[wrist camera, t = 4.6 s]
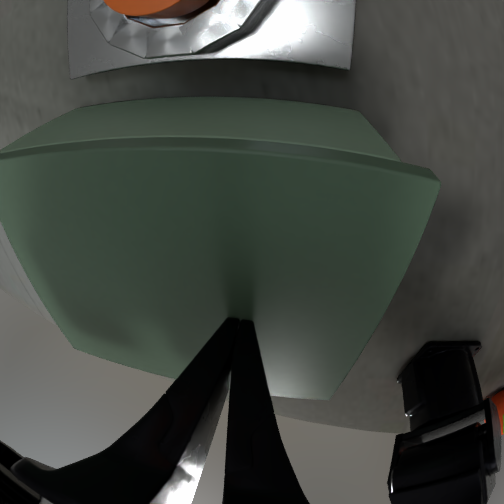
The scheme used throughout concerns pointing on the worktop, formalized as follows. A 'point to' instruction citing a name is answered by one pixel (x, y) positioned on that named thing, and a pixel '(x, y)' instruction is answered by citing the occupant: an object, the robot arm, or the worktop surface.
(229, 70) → the worktop surface
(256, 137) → the fryer
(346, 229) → the lid
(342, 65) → the control panel
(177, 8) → the button
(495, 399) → the clementine
